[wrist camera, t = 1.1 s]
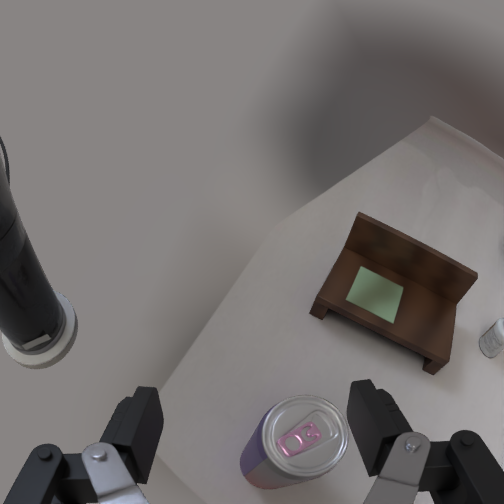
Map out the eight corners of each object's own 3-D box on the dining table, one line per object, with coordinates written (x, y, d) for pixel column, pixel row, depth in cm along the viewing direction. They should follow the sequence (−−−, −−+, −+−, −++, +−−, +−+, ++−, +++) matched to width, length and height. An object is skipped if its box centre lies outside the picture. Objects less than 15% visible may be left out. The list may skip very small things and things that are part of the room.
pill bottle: (492, 336, 41) (519, 308, 36) (498, 358, 38) (528, 331, 33) (476, 335, 41) (503, 306, 36) (482, 358, 38) (512, 330, 33)
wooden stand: (308, 313, 42) (330, 262, 35) (338, 260, 50) (358, 211, 43) (433, 375, 36) (476, 337, 29) (444, 314, 44) (477, 273, 37)
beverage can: (228, 453, 28) (240, 418, 18) (278, 428, 31) (318, 376, 20) (257, 499, 25) (291, 496, 14) (307, 471, 27) (368, 444, 17)
